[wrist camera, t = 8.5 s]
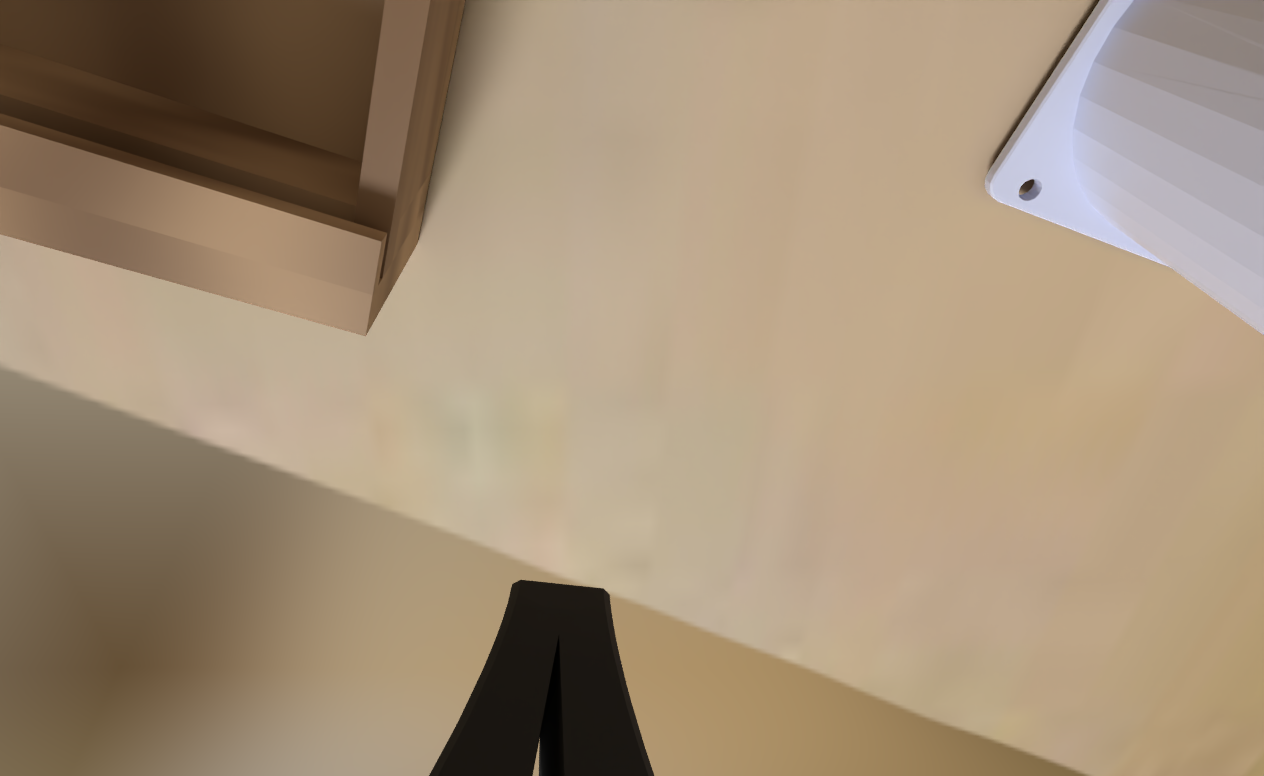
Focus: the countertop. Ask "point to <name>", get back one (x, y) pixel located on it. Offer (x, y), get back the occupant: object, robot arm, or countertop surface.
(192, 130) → the box
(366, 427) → the countertop surface
